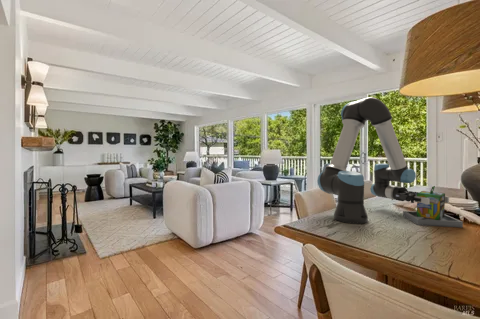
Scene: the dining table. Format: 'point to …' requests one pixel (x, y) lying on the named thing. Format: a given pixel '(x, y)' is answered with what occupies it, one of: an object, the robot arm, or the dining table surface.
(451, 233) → the dining table surface
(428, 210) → the chalk box
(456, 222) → the tray
